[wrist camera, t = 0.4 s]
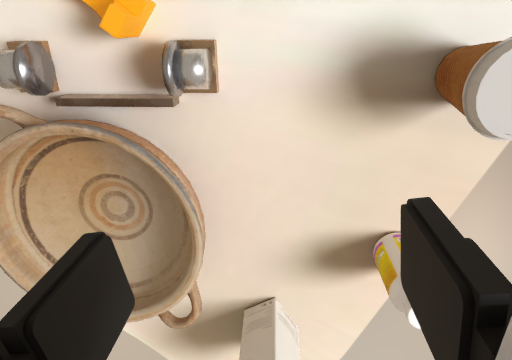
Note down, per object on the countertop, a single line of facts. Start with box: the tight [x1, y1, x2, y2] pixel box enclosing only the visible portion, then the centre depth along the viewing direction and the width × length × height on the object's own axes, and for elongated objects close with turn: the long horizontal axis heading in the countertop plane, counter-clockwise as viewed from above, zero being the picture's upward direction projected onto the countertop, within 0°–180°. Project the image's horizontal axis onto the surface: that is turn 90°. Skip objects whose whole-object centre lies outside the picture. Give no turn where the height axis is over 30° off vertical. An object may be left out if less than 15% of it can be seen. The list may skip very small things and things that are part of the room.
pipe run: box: [0, 40, 219, 107], centre depth 40 cm, size 8×26×6 cm, turn 91°
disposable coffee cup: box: [435, 37, 512, 141], centre depth 35 cm, size 10×10×12 cm
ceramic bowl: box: [0, 105, 205, 329], centre depth 47 cm, size 37×29×10 cm
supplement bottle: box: [373, 232, 421, 329], centre depth 45 cm, size 7×7×13 cm
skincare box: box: [239, 298, 300, 360], centre depth 51 cm, size 8×7×16 cm
